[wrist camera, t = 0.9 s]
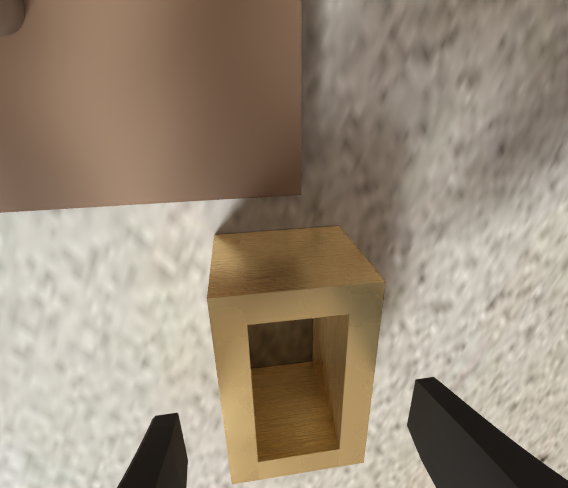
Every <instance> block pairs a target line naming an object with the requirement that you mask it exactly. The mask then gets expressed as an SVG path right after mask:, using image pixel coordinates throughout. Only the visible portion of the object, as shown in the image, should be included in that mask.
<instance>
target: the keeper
mask: <svg viewBox="0 0 568 488" xmlns="http://www.w3.org/2000/svg"><path fill="white" fill-rule="evenodd" d="M301 35H302V0H0V213H1V212H18V211H34V210H51V209H68V208H85V207H102V206H118V205H135V204H152V203H169V202H185V201H202V200H219V199H236V198H252V197H269V196H286V195H301Z"/></svg>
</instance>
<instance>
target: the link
mask: <svg viewBox="0 0 568 488" xmlns="http://www.w3.org/2000/svg"><path fill="white" fill-rule="evenodd" d="M384 289H385V280H384V279H383V278H382V277H381V276H380V274H379V273H378V272H377V271H376V270H375V268H374V267H373V266H372V265H371V264H370V262H369V261H368V260H367V259H366V258H365V256H364V255H363V254H362V253H361V252H360V250H359V249H358V248H357V247H356V246H355V244H354V243H353V242H352V241H351V239H350V238H349V237H348V236H347V235H346V233H345V232H344V231H343V230H342V229H341V227H340V226H330V227H316V228H302V229H288V230H274V231H261V232H247V233H233V234H219V235H214V242H213V251H212V259H211V268H210V277H209V286H208V295H207V302H208V309H209V317H210V324H211V332H212V339H213V347H214V354H215V362H216V369H217V377H218V384H219V392H220V399H221V406H222V414H223V421H224V429H225V436H226V444H227V451H228V459H229V466H230V474H231V481H232V484H237V483H243V482H249V481H255V480H261V479H267V478H273V477H279V476H285V475H291V474H297V473H303V472H310V471H316V470H322V469H328V468H334V467H340V466H346V465H352V464H358V463H364V456H365V447H366V439H367V431H368V422H369V414H370V406H371V397H372V389H373V381H374V372H375V364H376V356H377V347H378V339H379V331H380V322H381V314H382V306H383V298H384ZM309 318H313V358H312V361H310V362H302V363H294V364H286V365H278V366H270V367H261V368H253V369H251V364H250V351H249V338H248V326H247V325H252V324H262V323H271V322H280V321H290V320H299V319H309Z"/></svg>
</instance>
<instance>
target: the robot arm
mask: <svg viewBox="0 0 568 488" xmlns="http://www.w3.org/2000/svg"><path fill="white" fill-rule="evenodd" d="M407 426H408V429H409V431H410V434H411V436H412V439H413V441H414V444H415V446H416V448H417V451H418V453H419V455H420V458H421V460H422V462H423V464H424V466H425V468H426V470H427V472H428V473H429V475H430V477H431V479H432V481H433V483H434V485H435V486H436V488H568V480H566V479H565V478H563V477H562V476H561V475H559V474H558V473H556V472H555V471H553V470H552V469H551V468H549V467H548V466H546V465H545V464H544V463H542V462H541V461H540V460H538V459H537V458H535V457H534V456H533V455H531V454H530V453H529V452H527V451H526V450H525V449H523V448H522V447H521V446H519V445H518V444H517V443H515V442H514V441H513V440H511V439H510V438H509V437H507V436H506V435H505V434H504V433H502V432H501V431H500V430H498V429H497V428H496V427H495V426H493V425H492V424H491V423H490V422H488V421H487V420H486V419H485V418H483V417H482V416H481V415H480V414H478V413H477V412H476V411H475V410H474V409H472V408H471V407H470V406H469V405H467V404H466V403H465V402H464V401H463V400H461V399H460V398H459V397H458V396H457V395H455V394H454V393H453V392H452V391H450V390H449V389H448V388H447V387H446V386H444V385H443V384H442V383H441V382H439V381H438V380H437V379H436V378H434V377H430V378H423V379H416V380H415V385H414V391H413V396H412V402H411V407H410V412H409V418H408V423H407ZM187 466H188V458H187V453H186V449H185V444H184V439H183V434H182V429H181V425H180V420H179V415H178V413H172V414H165V415H158V416H155V417H154V418H153V419H152V421H151V423H150V426H149V428H148V430H147V432H146V434H145V436H144V438H143V440H142V442H141V444H140V446H139V448H138V450H137V452H136V454H135V456H134V458H133V460H132V461H131V463H130V465H129V467H128V469H127V471H126V473H125V474H124V476H123V478H122V480H121V482H120V483H119V485H118V487H117V488H186V484H187Z"/></svg>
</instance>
